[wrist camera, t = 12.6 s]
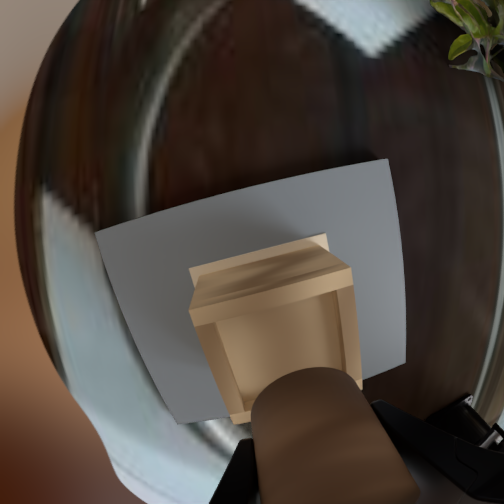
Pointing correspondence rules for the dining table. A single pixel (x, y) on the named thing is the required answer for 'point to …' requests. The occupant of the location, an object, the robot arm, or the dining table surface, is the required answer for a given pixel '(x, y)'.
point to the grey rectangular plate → (250, 250)
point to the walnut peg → (324, 444)
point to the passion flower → (476, 32)
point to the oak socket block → (276, 323)
